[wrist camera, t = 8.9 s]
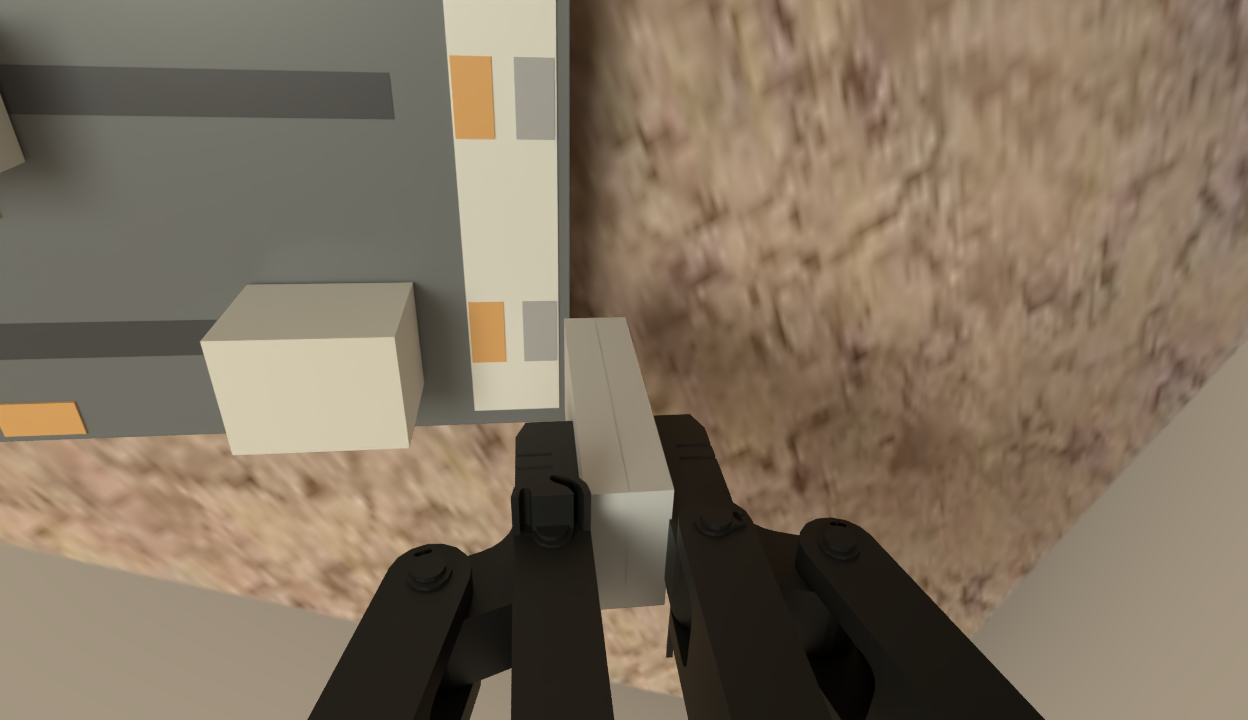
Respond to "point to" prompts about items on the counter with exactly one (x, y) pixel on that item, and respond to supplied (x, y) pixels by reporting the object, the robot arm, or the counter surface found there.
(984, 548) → the counter surface
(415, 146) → the switch panel
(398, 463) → the counter surface
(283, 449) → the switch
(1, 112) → the middle switch
